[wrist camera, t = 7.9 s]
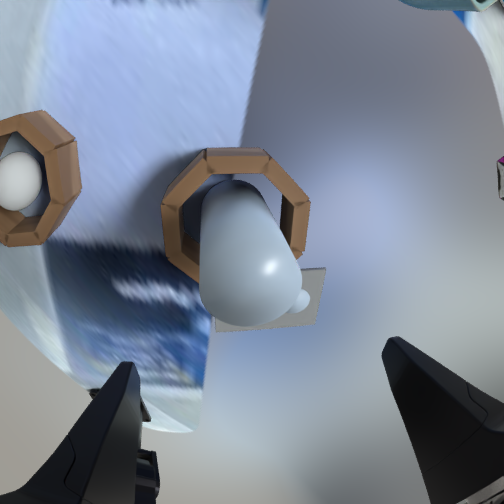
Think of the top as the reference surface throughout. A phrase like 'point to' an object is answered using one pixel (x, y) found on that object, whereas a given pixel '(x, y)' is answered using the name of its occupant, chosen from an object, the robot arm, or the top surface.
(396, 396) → the robot arm
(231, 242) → the grey tube
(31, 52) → the top surface
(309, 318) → the card
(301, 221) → the ring
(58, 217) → the ring
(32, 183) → the white egg
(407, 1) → the flower pot
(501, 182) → the candy bar box
